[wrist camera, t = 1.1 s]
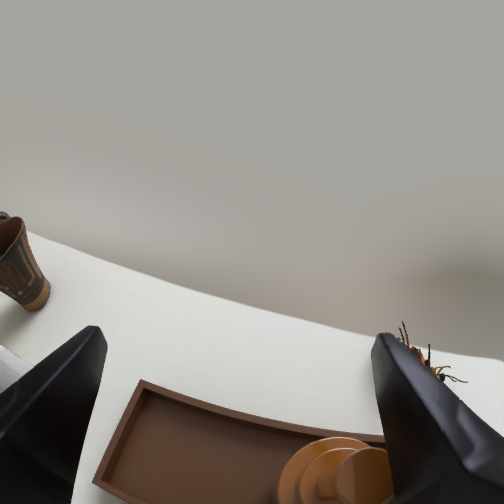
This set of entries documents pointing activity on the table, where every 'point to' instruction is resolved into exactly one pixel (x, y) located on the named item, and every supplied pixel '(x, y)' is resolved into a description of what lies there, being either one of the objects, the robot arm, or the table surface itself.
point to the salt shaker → (11, 368)
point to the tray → (200, 451)
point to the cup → (20, 267)
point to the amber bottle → (334, 474)
